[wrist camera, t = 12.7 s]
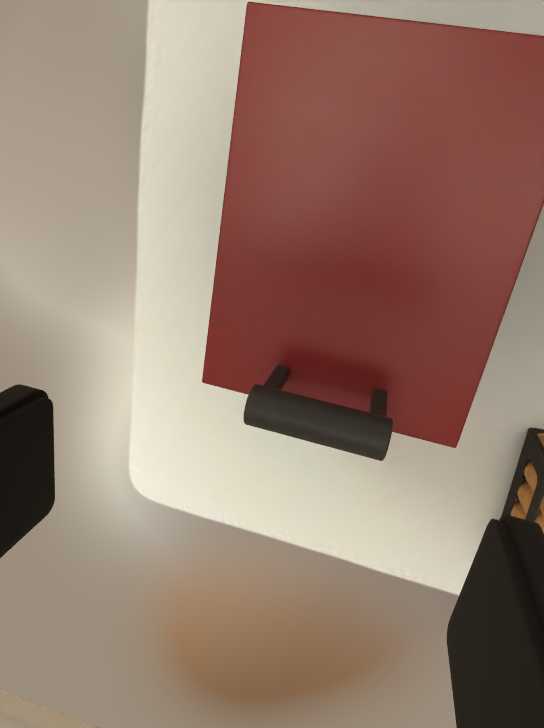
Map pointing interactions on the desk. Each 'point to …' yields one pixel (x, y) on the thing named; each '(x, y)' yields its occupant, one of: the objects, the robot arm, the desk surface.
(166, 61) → the desk surface
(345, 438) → the lid
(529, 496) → the ammunition clip
